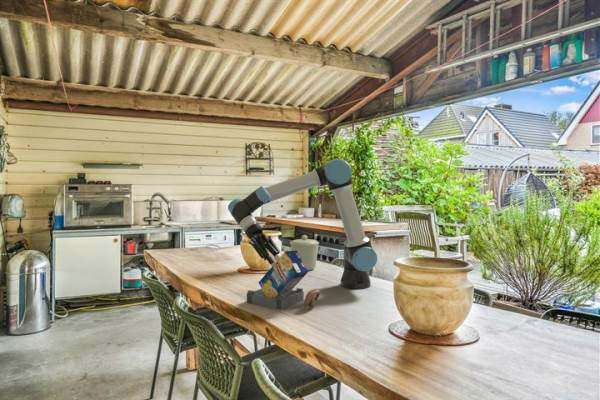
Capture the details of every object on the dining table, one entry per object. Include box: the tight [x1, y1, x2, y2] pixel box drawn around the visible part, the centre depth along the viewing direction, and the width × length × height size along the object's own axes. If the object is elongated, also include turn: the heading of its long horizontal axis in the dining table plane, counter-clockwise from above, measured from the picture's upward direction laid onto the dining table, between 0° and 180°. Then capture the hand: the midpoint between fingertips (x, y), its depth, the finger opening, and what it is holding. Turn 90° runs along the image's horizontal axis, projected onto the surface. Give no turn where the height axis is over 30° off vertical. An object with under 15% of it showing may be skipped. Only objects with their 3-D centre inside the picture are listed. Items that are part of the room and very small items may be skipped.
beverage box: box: [258, 250, 310, 298], centre depth 174 cm, size 7×11×22 cm
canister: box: [289, 234, 320, 271], centre depth 252 cm, size 18×18×21 cm
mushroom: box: [303, 288, 321, 310], centre depth 168 cm, size 8×6×8 cm
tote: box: [246, 287, 305, 310], centre depth 179 cm, size 19×16×5 cm
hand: (281, 268), depth 176 cm, fingers open, 4 cm apart
